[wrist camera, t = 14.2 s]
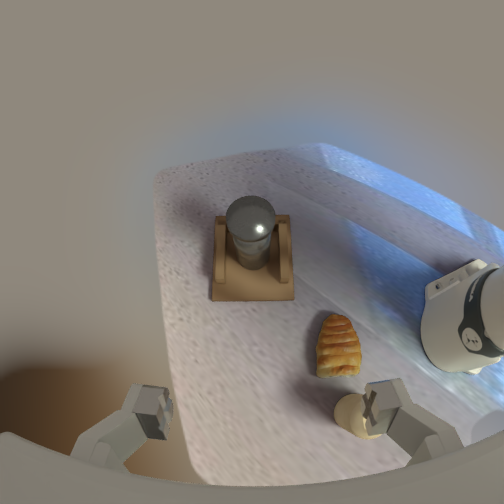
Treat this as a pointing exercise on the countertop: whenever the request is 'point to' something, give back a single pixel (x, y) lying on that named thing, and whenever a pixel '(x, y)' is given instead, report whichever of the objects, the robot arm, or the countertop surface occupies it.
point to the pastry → (338, 348)
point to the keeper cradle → (253, 281)
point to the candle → (352, 416)
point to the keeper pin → (251, 230)
